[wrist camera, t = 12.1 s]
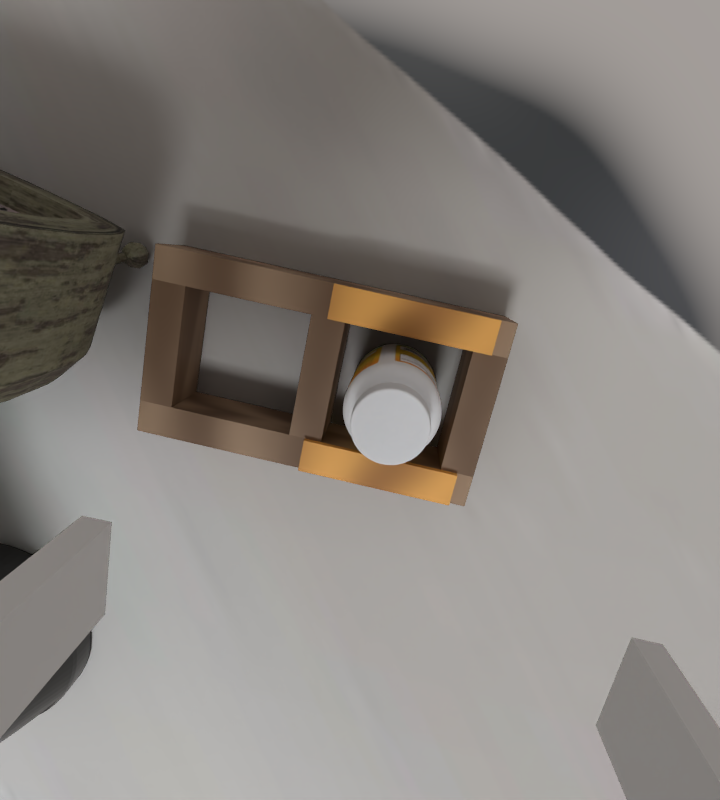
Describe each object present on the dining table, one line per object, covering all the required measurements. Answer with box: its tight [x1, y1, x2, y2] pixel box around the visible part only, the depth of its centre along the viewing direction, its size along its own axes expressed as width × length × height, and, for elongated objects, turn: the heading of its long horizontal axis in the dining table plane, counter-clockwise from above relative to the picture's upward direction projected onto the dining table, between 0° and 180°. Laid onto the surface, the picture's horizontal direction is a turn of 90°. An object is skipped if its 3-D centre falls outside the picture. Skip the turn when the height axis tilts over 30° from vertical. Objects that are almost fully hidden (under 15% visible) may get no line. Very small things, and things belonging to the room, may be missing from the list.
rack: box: [137, 243, 518, 506], centre depth 33 cm, size 21×12×4 cm, turn 78°
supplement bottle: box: [343, 344, 442, 465], centre depth 30 cm, size 5×5×10 cm
